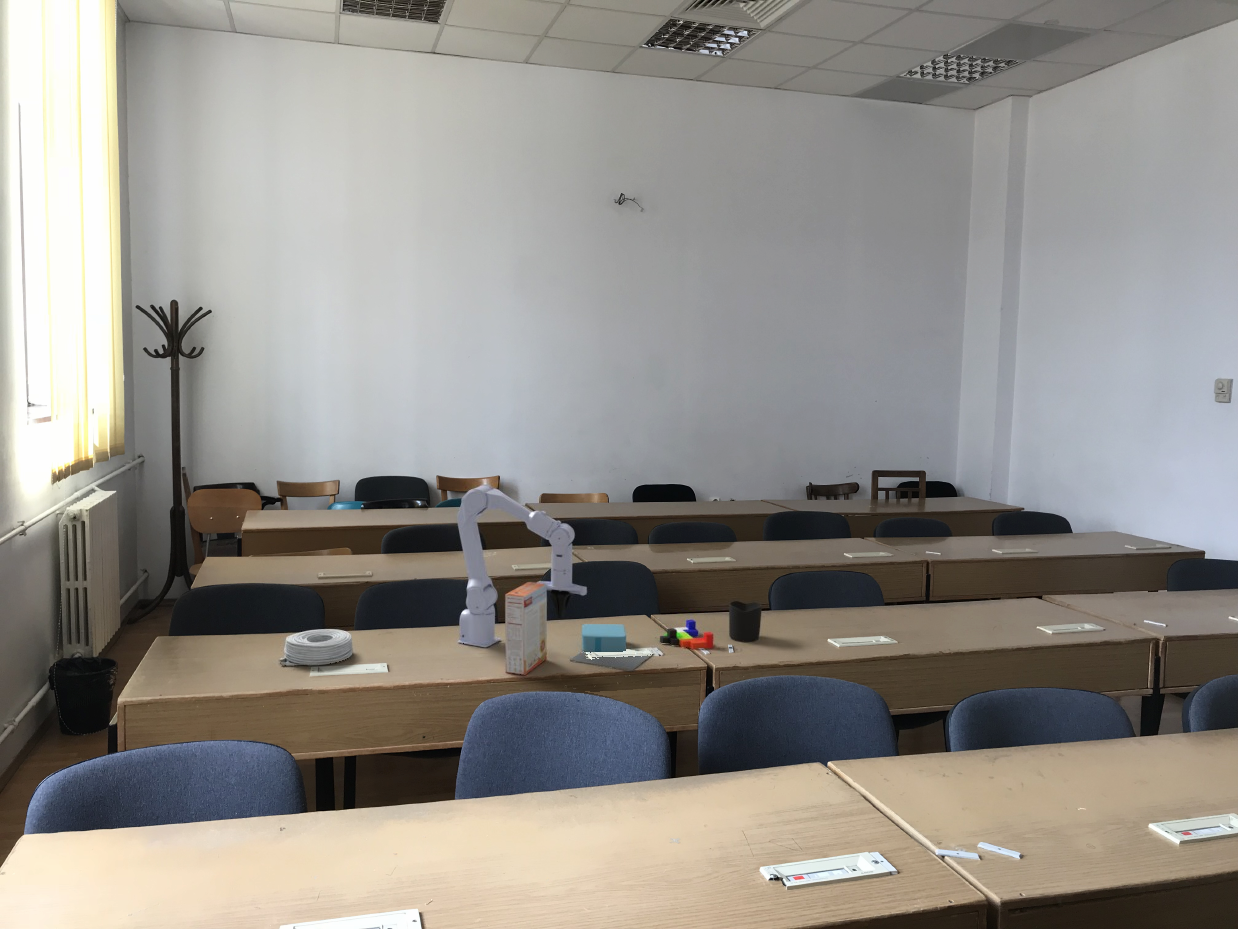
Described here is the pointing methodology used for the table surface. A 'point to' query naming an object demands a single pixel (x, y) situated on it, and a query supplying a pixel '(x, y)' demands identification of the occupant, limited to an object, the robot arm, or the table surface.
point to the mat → (612, 661)
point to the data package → (603, 638)
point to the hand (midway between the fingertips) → (560, 617)
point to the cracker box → (526, 627)
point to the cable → (317, 647)
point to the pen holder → (744, 621)
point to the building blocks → (687, 637)
